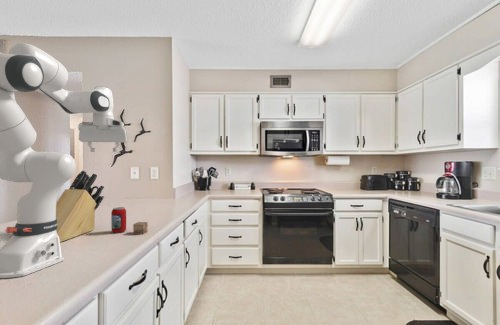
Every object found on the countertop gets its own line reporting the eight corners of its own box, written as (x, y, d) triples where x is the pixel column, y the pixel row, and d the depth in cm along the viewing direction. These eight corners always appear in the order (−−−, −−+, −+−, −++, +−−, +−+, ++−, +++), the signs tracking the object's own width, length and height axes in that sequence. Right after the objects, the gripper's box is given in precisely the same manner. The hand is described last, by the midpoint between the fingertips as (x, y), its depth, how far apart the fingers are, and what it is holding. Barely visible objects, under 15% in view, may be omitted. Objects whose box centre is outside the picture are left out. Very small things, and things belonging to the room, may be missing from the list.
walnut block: (143, 234, 138) (143, 224, 138) (133, 234, 138) (133, 224, 138) (147, 232, 143) (147, 222, 142) (137, 231, 143) (137, 222, 143)
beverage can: (108, 232, 141) (108, 208, 141) (120, 229, 147) (120, 206, 147) (117, 234, 138) (117, 209, 138) (129, 231, 144) (129, 207, 144)
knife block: (106, 226, 155) (106, 169, 155) (56, 245, 120) (55, 172, 120) (87, 225, 157) (86, 169, 156) (32, 244, 122) (31, 172, 121)
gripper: (76, 120, 127) (76, 151, 127) (125, 122, 134) (126, 151, 134) (80, 122, 133) (80, 151, 133) (127, 123, 140) (127, 152, 140)
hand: (103, 151), depth 134 cm, fingers open, 8 cm apart
